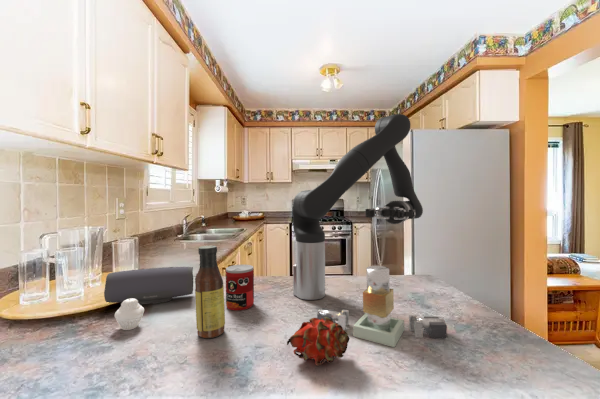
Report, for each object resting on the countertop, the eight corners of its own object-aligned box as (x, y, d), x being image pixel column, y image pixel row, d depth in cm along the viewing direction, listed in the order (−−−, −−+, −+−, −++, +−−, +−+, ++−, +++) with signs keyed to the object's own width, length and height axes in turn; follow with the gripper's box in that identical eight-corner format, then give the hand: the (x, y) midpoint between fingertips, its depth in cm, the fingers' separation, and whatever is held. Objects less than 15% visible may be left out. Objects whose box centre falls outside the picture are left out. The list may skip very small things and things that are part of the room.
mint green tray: (353, 336, 64) (353, 325, 64) (366, 321, 72) (366, 311, 72) (394, 347, 60) (394, 335, 60) (404, 330, 67) (404, 319, 67)
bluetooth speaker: (193, 292, 95) (193, 262, 95) (192, 302, 86) (192, 268, 86) (113, 300, 88) (113, 267, 88) (103, 312, 79) (103, 275, 79)
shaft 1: (349, 324, 71) (349, 310, 71) (344, 331, 67) (344, 317, 67) (321, 319, 73) (321, 306, 73) (315, 326, 69) (315, 312, 69)
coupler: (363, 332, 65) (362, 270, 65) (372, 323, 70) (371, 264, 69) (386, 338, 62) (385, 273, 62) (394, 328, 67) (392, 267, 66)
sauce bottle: (230, 329, 68) (229, 245, 68) (214, 341, 62) (213, 249, 62) (207, 325, 70) (206, 243, 70) (189, 337, 64) (188, 248, 64)
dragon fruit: (355, 371, 54) (292, 378, 55) (347, 328, 61) (291, 335, 62) (353, 349, 49) (283, 357, 50) (344, 304, 56) (283, 313, 57)
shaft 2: (415, 338, 63) (415, 322, 63) (408, 329, 68) (408, 314, 68) (448, 338, 63) (448, 323, 63) (439, 329, 68) (439, 314, 68)
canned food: (220, 308, 81) (220, 269, 81) (236, 299, 88) (236, 263, 88) (243, 312, 78) (243, 272, 78) (258, 302, 85) (258, 265, 85)
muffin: (140, 319, 74) (139, 292, 74) (148, 327, 69) (147, 298, 69) (111, 327, 69) (111, 298, 69) (118, 336, 65) (117, 305, 65)
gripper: (376, 200, 101) (359, 201, 87) (419, 200, 93) (409, 201, 79) (376, 222, 101) (359, 226, 87) (419, 224, 93) (409, 228, 79)
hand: (383, 214), depth 83 cm, fingers open, 8 cm apart
